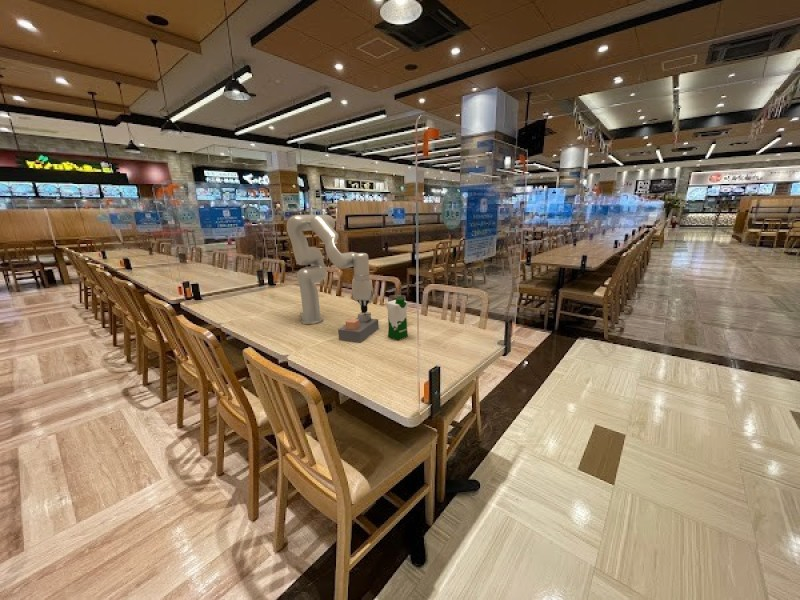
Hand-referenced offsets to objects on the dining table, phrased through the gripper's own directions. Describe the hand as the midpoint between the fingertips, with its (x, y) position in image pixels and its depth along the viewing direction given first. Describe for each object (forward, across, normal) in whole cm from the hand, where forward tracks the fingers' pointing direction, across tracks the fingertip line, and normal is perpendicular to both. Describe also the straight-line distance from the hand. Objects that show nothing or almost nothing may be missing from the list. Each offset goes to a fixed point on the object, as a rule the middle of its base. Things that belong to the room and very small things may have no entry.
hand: (364, 312), depth 166 cm
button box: (+10, 0, -6) cm, 12 cm away
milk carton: (+10, +20, -3) cm, 23 cm away
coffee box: (+10, +13, +14) cm, 22 cm away
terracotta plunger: (+6, 0, -12) cm, 13 cm away
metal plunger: (+6, 0, 0) cm, 6 cm away
